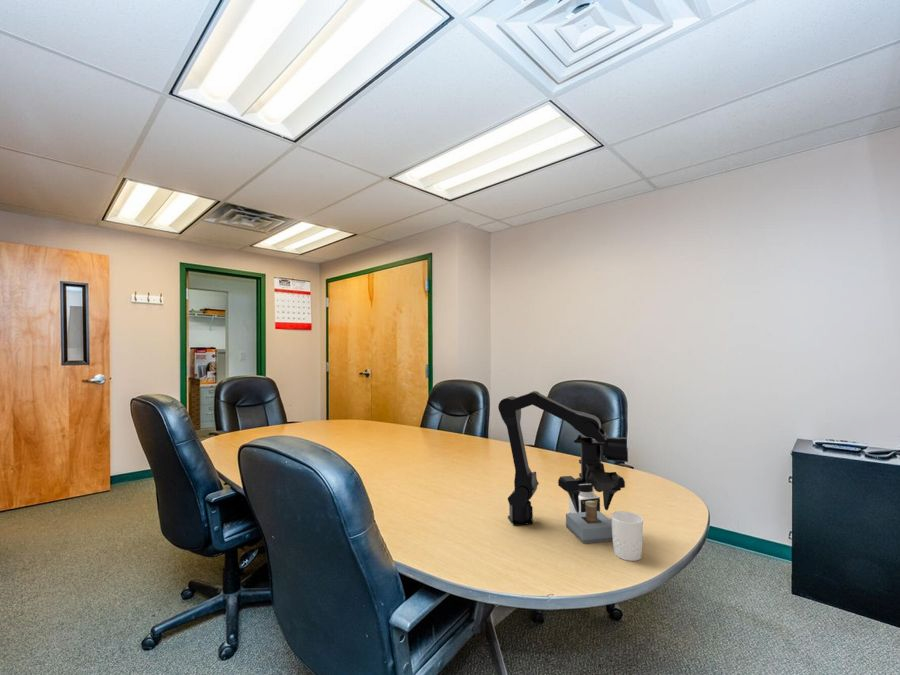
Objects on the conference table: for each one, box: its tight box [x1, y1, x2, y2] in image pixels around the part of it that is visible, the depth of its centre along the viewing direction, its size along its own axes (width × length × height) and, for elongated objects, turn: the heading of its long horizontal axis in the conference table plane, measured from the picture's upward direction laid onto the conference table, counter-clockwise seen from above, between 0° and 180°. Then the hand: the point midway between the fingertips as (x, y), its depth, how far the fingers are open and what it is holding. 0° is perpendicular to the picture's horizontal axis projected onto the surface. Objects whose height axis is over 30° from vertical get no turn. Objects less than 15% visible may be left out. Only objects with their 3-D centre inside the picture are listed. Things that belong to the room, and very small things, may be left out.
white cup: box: [610, 510, 644, 562], centre depth 108 cm, size 8×8×10 cm
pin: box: [585, 501, 597, 524], centre depth 121 cm, size 3×3×8 cm
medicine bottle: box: [568, 477, 601, 513], centre depth 133 cm, size 7×7×12 cm
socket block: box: [565, 510, 613, 544], centre depth 121 cm, size 11×11×4 cm
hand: (591, 511), depth 121 cm, fingers open, 9 cm apart
